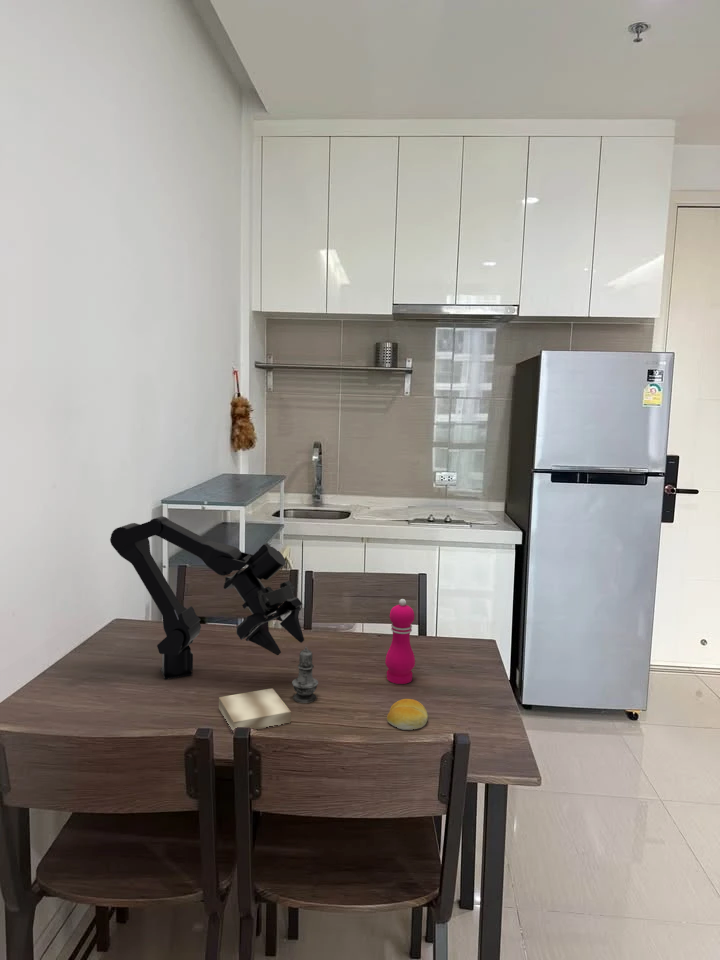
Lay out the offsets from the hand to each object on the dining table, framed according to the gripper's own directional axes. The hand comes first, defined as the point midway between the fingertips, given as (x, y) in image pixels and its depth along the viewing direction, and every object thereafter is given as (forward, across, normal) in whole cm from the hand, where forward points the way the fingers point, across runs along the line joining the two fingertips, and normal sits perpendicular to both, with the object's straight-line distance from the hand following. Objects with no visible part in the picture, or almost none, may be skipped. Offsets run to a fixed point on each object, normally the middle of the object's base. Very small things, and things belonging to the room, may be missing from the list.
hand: (291, 647), depth 146 cm
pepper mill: (+20, +21, -4) cm, 29 cm away
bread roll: (+28, +3, -12) cm, 30 cm away
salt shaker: (+11, 0, +5) cm, 12 cm away
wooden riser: (+7, -13, +8) cm, 17 cm away
